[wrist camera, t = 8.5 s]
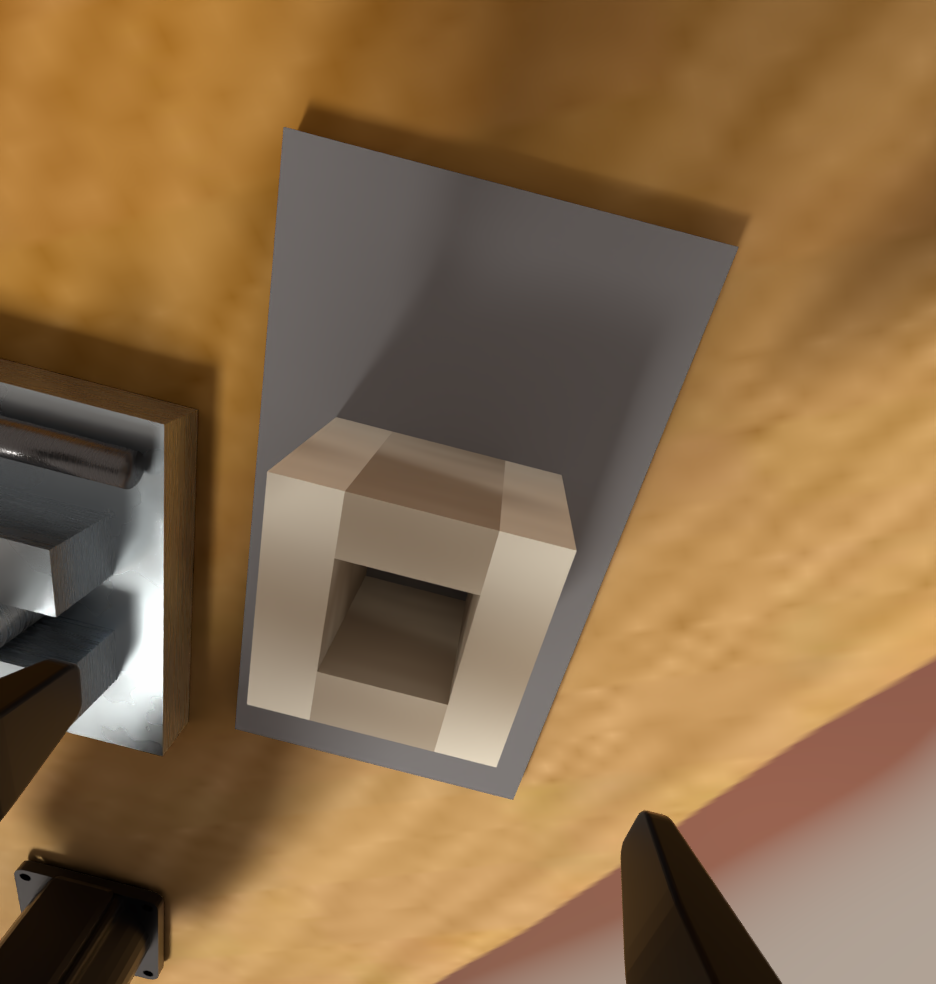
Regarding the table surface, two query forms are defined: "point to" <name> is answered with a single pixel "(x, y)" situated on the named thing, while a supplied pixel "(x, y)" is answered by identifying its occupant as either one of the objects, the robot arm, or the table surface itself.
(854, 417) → the table surface
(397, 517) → the collar
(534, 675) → the charcoal mat
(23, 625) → the vise
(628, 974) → the robot arm
